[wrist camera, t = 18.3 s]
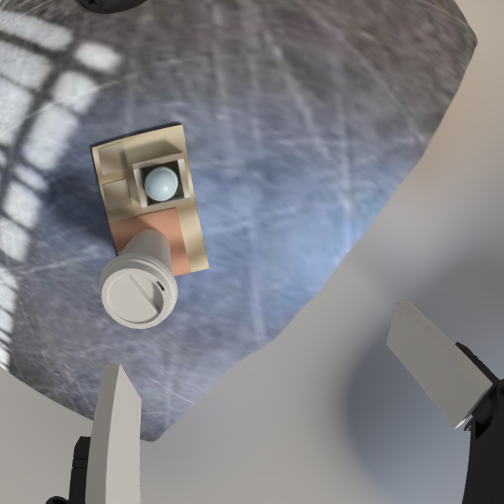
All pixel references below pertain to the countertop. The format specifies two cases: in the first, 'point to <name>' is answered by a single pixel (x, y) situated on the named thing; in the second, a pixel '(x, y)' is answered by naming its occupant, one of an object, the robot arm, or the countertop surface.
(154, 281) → the coffee cup
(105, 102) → the countertop surface
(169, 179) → the dome
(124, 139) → the board
